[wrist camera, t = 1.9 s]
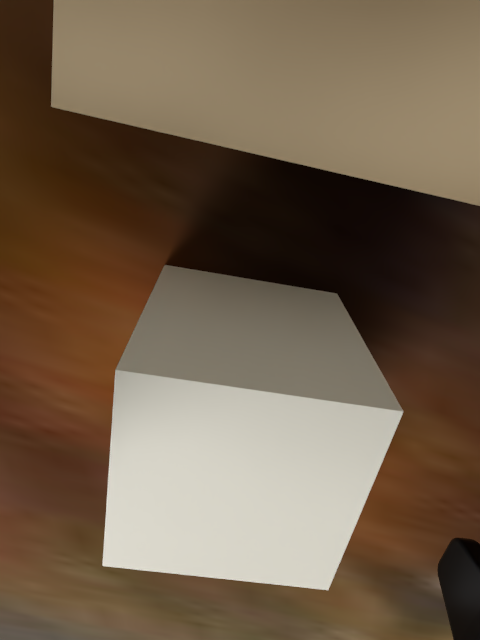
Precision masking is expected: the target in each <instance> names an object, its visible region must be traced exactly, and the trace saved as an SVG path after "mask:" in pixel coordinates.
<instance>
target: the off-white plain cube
mask: <svg viewBox="0 0 480 640" xmlns="http://www.w3.org/2000/svg"><path fill="white" fill-rule="evenodd" d="M402 414H403V410H402V408H401V406H400V405H399V403H398V401H397V399H396V398H395V396H394V394H393V392H392V390H391V389H390V387H389V385H388V383H387V382H386V380H385V378H384V376H383V374H382V373H381V371H380V369H379V367H378V366H377V364H376V362H375V360H374V358H373V357H372V355H371V353H370V351H369V350H368V348H367V346H366V344H365V342H364V341H363V339H362V337H361V335H360V334H359V332H358V330H357V328H356V326H355V325H354V323H353V321H352V319H351V318H350V316H349V314H348V312H347V310H346V309H345V307H344V305H343V303H342V302H341V300H340V298H339V296H338V294H337V293H331V292H325V291H319V290H313V289H307V288H301V287H295V286H289V285H283V284H277V283H271V282H265V281H259V280H253V279H247V278H241V277H235V276H229V275H223V274H217V273H211V272H205V271H199V270H193V269H187V268H181V267H175V266H169V265H164V267H163V269H162V272H161V274H160V276H159V278H158V280H157V282H156V284H155V287H154V289H153V291H152V293H151V295H150V297H149V299H148V301H147V304H146V306H145V308H144V310H143V312H142V314H141V316H140V319H139V321H138V323H137V325H136V327H135V329H134V331H133V333H132V336H131V338H130V340H129V342H128V344H127V346H126V348H125V351H124V353H123V355H122V357H121V359H120V361H119V363H118V366H117V368H116V370H115V384H114V400H113V415H112V430H111V445H110V460H109V475H108V490H107V505H106V520H105V535H104V551H103V566H108V567H117V568H126V569H136V570H145V571H154V572H164V573H173V574H182V575H192V576H201V577H210V578H220V579H229V580H238V581H248V582H257V583H266V584H276V585H285V586H295V587H304V588H313V589H323V590H328V589H329V587H330V585H331V582H332V580H333V578H334V575H335V573H336V570H337V568H338V566H339V563H340V561H341V559H342V556H343V554H344V551H345V549H346V547H347V544H348V542H349V540H350V537H351V535H352V532H353V530H354V528H355V525H356V523H357V521H358V518H359V516H360V513H361V511H362V509H363V506H364V504H365V502H366V499H367V497H368V495H369V492H370V490H371V487H372V485H373V483H374V480H375V478H376V476H377V473H378V471H379V468H380V466H381V464H382V461H383V459H384V457H385V454H386V452H387V449H388V447H389V445H390V442H391V440H392V438H393V435H394V433H395V430H396V428H397V426H398V423H399V421H400V419H401V416H402Z"/></svg>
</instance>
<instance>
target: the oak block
mask: <svg viewBox="0 0 480 640" xmlns="http://www.w3.org/2000/svg"><path fill="white" fill-rule="evenodd" d="M51 107H54V108H58V109H62V110H67V111H71V112H75V113H80V114H84V115H88V116H93V117H97V118H101V119H106V120H110V121H114V122H119V123H123V124H127V125H132V126H136V127H140V128H145V129H149V130H153V131H158V132H162V133H166V134H171V135H175V136H179V137H184V138H188V139H192V140H197V141H201V142H205V143H210V144H214V145H218V146H223V147H227V148H231V149H236V150H240V151H244V152H249V153H253V154H257V155H262V156H266V157H270V158H275V159H279V160H283V161H288V162H292V163H296V164H301V165H305V166H309V167H314V168H318V169H322V170H327V171H331V172H335V173H340V174H344V175H348V176H353V177H357V178H361V179H366V180H370V181H374V182H379V183H383V184H387V185H392V186H396V187H400V188H405V189H409V190H413V191H418V192H422V193H426V194H431V195H435V196H439V197H443V198H448V199H452V200H456V201H461V202H465V203H469V204H474V205H478V206H480V0H54V10H53V49H52V89H51Z"/></svg>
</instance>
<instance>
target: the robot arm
mask: <svg viewBox="0 0 480 640" xmlns="http://www.w3.org/2000/svg"><path fill="white" fill-rule="evenodd" d="M438 577H439V581H440V585H441V589H442V594H443V598H444V602H445V606H446V610H447V614H448V618H449V622H450V626H451V630H452V634H453V639H454V640H480V544H479V543H478V542H476V541H475V540H472V539H465V538H454V539H452V540H451V542H450V543H449V545H448V547H447V549H446V550H445V552H444V554H443V556H442V557H441V559H440V561H439V564H438Z"/></svg>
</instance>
